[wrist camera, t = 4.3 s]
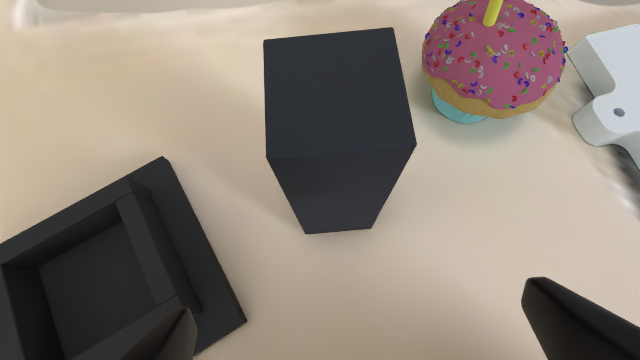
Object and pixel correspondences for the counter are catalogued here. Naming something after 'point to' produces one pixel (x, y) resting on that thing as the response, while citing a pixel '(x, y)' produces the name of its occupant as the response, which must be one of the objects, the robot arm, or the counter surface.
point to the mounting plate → (610, 88)
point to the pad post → (336, 125)
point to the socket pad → (112, 273)
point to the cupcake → (492, 59)
